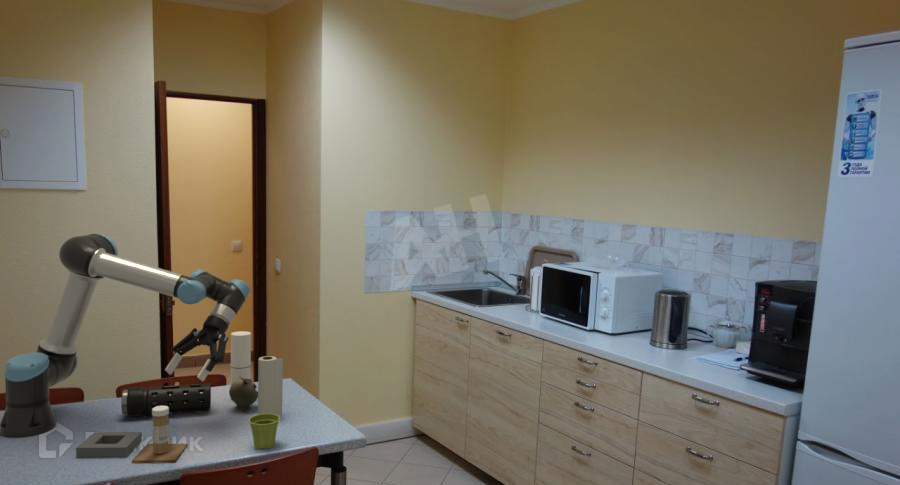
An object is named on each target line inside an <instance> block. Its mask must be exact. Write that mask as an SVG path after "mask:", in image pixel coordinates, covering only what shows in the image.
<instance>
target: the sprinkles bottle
mask: <svg viewBox="0 0 900 485" xmlns="http://www.w3.org/2000/svg"><path fill="white" fill-rule="evenodd" d="M169 414H170V413H169V407H168V406H157V407H154V408H153V409H152V416H151V417H152V444H153V453H155V454H163V453H166V452H168V451H169V444H170V442H169V440H170V427H169Z"/></svg>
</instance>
